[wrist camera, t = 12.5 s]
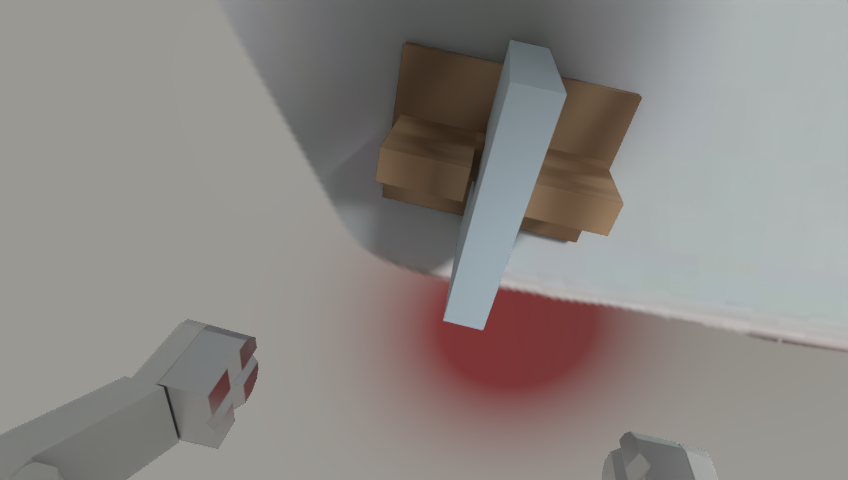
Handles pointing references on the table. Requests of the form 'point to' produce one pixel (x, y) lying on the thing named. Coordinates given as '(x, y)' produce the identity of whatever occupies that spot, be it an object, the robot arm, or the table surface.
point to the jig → (466, 133)
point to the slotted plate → (504, 179)
